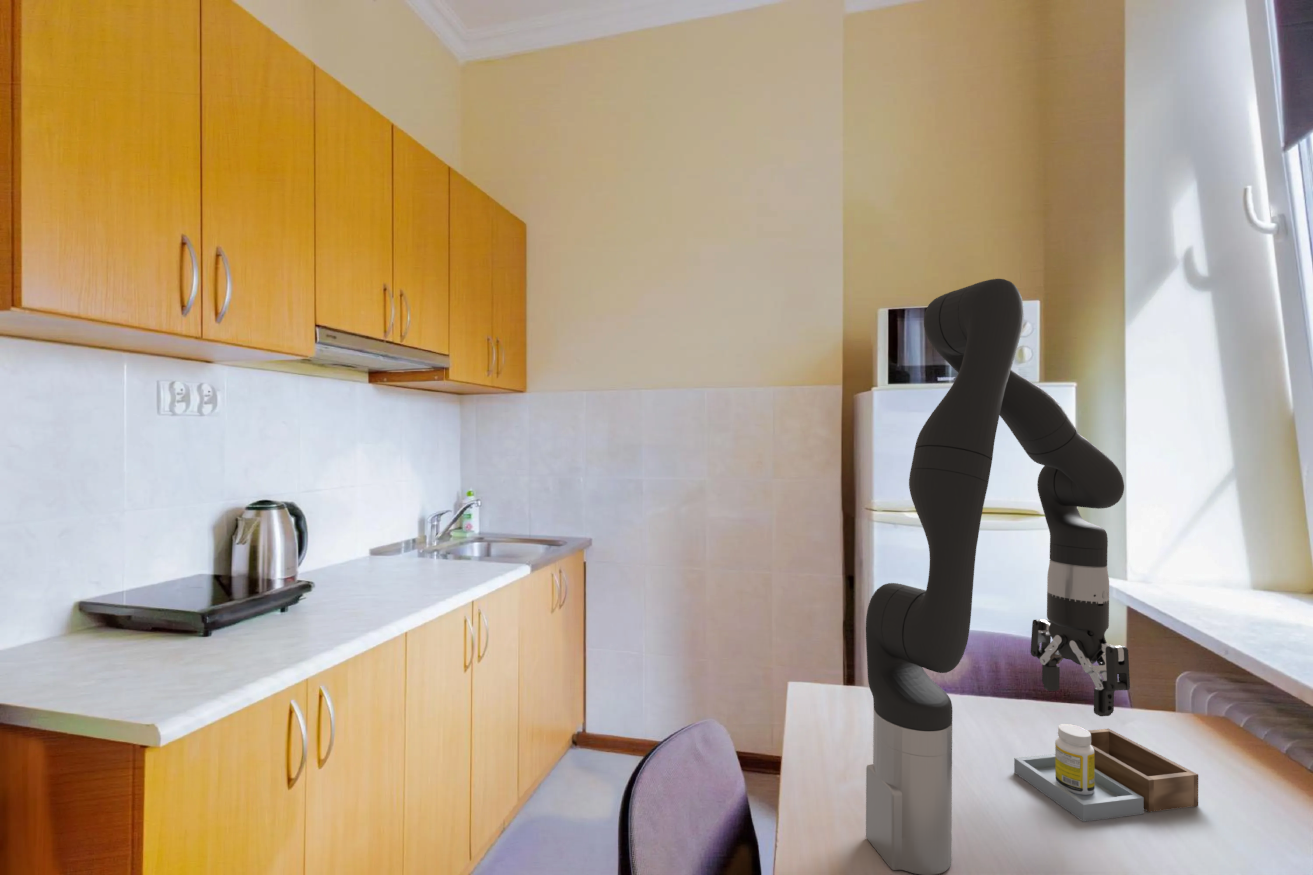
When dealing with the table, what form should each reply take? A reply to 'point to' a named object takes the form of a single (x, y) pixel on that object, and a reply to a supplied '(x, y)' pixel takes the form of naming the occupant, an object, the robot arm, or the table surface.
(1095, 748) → the caddy
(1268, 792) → the table surface
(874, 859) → the table surface
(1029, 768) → the tray
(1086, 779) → the supplement bottle
